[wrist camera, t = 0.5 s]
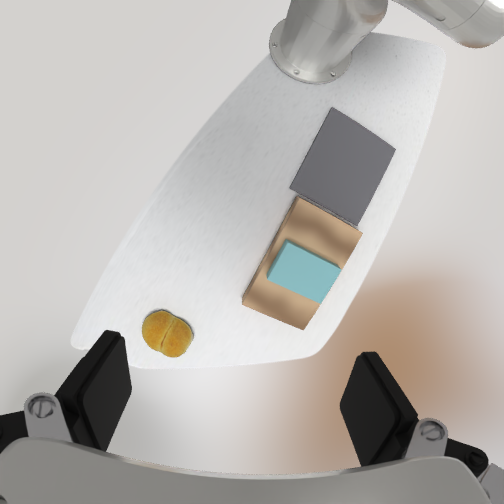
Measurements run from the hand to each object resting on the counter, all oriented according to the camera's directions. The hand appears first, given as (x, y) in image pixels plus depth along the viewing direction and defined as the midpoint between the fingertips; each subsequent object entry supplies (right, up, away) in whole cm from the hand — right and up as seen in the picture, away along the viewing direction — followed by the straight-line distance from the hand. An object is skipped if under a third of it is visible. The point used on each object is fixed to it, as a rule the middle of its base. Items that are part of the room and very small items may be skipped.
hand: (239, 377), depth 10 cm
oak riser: (+8, +3, +34) cm, 35 cm away
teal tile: (+8, +2, +31) cm, 32 cm away
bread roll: (-14, -9, +38) cm, 41 cm away
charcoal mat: (+14, +18, +30) cm, 37 cm away
